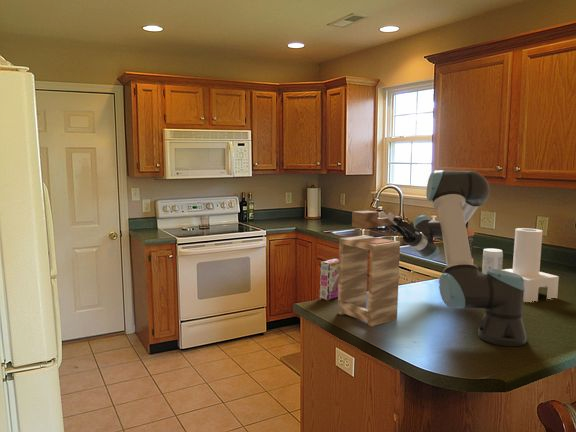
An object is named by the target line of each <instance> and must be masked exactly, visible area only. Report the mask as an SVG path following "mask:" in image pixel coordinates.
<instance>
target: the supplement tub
mask: <svg viewBox="0 0 576 432" xmlns="http://www.w3.org/2000/svg"><path fill="white" fill-rule="evenodd" d="M503 251H504V250H502V249H499V248H488V247H487V248H483V252H482V263H481V264H482V266H481V268H482V270H481V274H487V271H488V270H489V269H497V270H503V260H504V253H503Z"/></svg>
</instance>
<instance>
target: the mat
mask: <svg viewBox="0 0 576 432" xmlns="http://www.w3.org/2000/svg"><path fill="white" fill-rule="evenodd" d="M360 241H361V242H366V243H371V244H383V243H390V242H395V241H396V240H393V239H388V240H387V238H383V239H382V237H377V238H373V239H366V240H360Z"/></svg>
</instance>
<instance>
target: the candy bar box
mask: <svg viewBox="0 0 576 432" xmlns="http://www.w3.org/2000/svg"><path fill="white" fill-rule="evenodd" d="M319 276H320V277H319V300H323V301H326V302H327V301H330V300H333V299H336V298H338V282H339V258H331V259H328V260H327V259H326V260H322V261H321V262H320V274H319Z"/></svg>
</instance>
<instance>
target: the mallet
mask: <svg viewBox="0 0 576 432" xmlns="http://www.w3.org/2000/svg"><path fill="white" fill-rule="evenodd" d="M351 216H352V218H351V228H356V229H362V230H365V229H371V228H372V229H373V228H378V227H385V226H386V227H387V225H395V224H393V223H392V222H391V221H390V220H388V219H387V217H379V212H378V211H375V210H374V211H373V210H356V211H352V215H351ZM395 216H396V217H397V218H398V219H399V220H400V218H402V219H403V217H402V216H399V215H395Z"/></svg>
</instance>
